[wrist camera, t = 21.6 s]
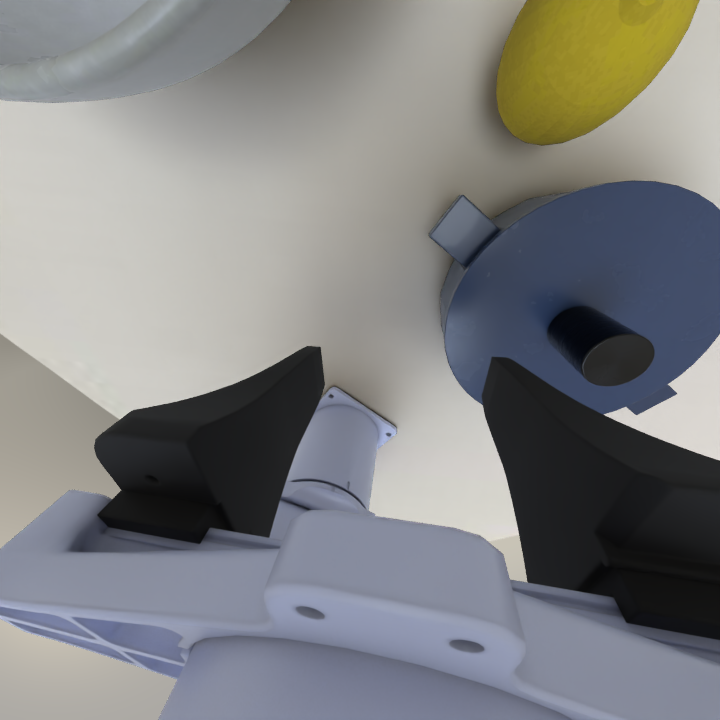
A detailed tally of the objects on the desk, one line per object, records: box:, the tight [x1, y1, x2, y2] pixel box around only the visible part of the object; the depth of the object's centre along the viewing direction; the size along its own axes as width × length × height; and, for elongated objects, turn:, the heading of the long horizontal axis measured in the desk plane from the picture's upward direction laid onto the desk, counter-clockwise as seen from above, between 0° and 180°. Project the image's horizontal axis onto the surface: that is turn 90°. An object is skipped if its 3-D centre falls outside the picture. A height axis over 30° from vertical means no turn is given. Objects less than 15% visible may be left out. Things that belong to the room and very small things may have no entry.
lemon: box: [496, 0, 699, 145], centre depth 11 cm, size 6×6×8 cm
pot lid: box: [444, 181, 720, 414], centre depth 14 cm, size 13×13×5 cm
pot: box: [429, 192, 677, 415], centre depth 17 cm, size 13×18×5 cm
